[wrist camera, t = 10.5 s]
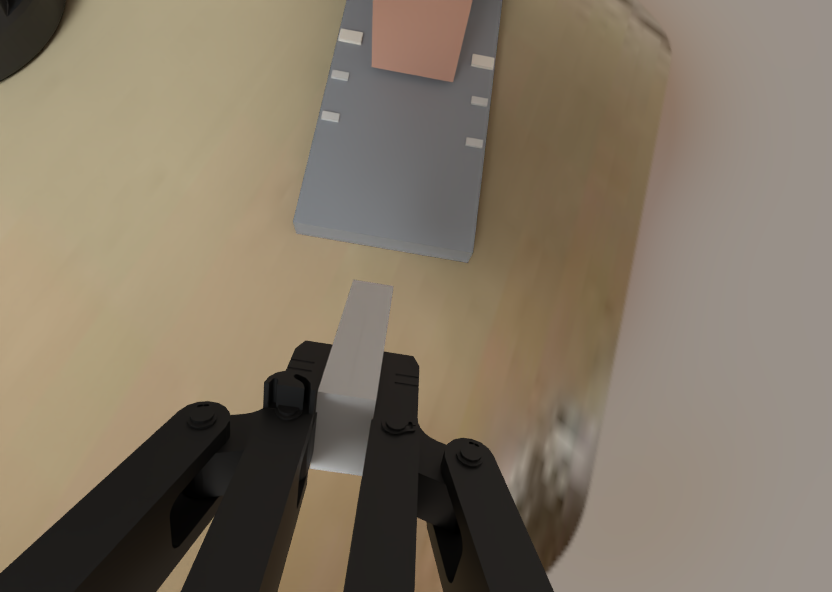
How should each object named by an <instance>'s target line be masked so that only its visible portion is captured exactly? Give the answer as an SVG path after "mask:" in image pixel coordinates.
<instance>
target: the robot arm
mask: <svg viewBox="0 0 832 592" xmlns="http://www.w3.org/2000/svg"><path fill="white" fill-rule="evenodd" d="M65 1H66V0H0V81H1V80H3V79H4V78H6V77H8V76H9V75H11V74H13V73H14V72H16V71H17V70H19V69H20V68H21V67H23V66H24V65H25V64H26V63H28V62H29V61H30V60H31V59H32V58H33V57H34V56H36V55H37V54H38V52H39V51H40V50H41V49H42V48H43V47H44V46H45V45H46V43H47V42H48V41H49V39H50V38H51V36H52V35H53V33H54V32H55V30H56V28H57V26H58V24H59V22H60V20H61V17H62V14H63V11H64V7H65ZM392 293H393V286H390V285H384V284H378V283H371V282H365V281H359V280H353V283H352V286H351V289H350V292H349V295H348V298H347V301H346V305H345V308H344V311H343V314H342V317H341V320H340V323H339V327H338V330H337V333H336V336H335V339H334V342H333V345H331V344H325V343H318V342H312V341H304V342H303V343H302V344H301V345H299V346H298V347H297V348H295V351H294V353H293V355H292V357H291V361H290V362H289V364H288V367H287V369H286V371H282V372H277V373H275V374H273V375H271V376H269V377H268V378H267V380H266V381H265V382H264V402H263V409H261V410H259V411H256V412H253V413H247V414H238V415H230V413H229V411H228V410H227V408H226V407H225V406H223V405H221V404H219V403H215V402H210V401H205V402H196V403H193V404H190V405H187V406H186V407H184V408H183V409H181V410H179V411H178V412H177V413H176V414H175V415H174V416H173V417H172V418H171V419H169V420H168V421H167V422H166V423H165V424H164V425H163V426H162V427H161V428H160V429H158V430H157V431H156V432H155V433H154V434H153V435H152V436H151V437H150V438H149V439H147V440H146V441H145V442H144V443H143V444H142V445H141V446H140V447H139V448H138V449H136V450H135V451H134V452H133V453H132V454H131V455H130V456H129V457H128V458H127V459H125V460H124V461H123V462H122V463H121V464H120V465H119V466H118V467H117V468H116V469H114V470H113V471H112V472H111V473H110V474H109V475H108V476H107V477H106V478H105V479H103V480H102V481H101V482H100V483H99V484H98V485H97V486H96V487H95V488H94V489H92V490H91V491H90V492H89V493H88V494H87V495H86V496H85V497H84V498H83V499H81V500H80V501H79V502H78V503H77V504H76V505H75V506H74V507H73V508H72V509H70V510H69V511H68V512H67V513H66V514H65V515H64V516H63V517H62V518H61V519H59V520H58V521H57V522H56V523H55V524H54V525H53V526H52V527H51V528H50V529H49V530H47V531H46V532H45V533H44V534H43V535H42V536H41V537H40V538H39V539H38V540H36V541H35V542H34V543H33V544H32V545H31V546H30V547H29V548H28V549H27V550H25V551H24V552H23V553H22V554H21V555H20V556H19V557H18V558H17V559H16V560H14V561H13V562H12V563H11V564H10V565H9V566H8V567H7V568H6V569H5V570H3V571H2V572H1V573H0V592H156V591H157V590H158V589H159V587H160V586H161V585H162V584H163V582H164V581H165V580H166V578H167V577H168V576H169V574H170V573H171V572H172V571H173V569H174V568H175V567H176V565H177V564H178V563H179V561H180V560H181V559H182V558H183V556H184V555H185V554H186V552H187V551H188V550H189V548H190V547H191V546H192V544H193V543H194V542H195V541H196V539H197V538H198V537H199V535H200V534H201V533H202V531H203V530H204V529H205V528H206V526H207V525H208V524H209V522H210V521H211V520H212V518H213V517H214V519H213V521H212V523H211V525H210V527H209V530H208V532H207V534H206V536H205V539H204V541H203V543H202V545H201V548H200V550H199V552H198V554H197V556H196V559H195V561H194V563H193V565H192V568H191V570H190V572H189V574H188V577H187V579H186V581H185V583H184V586H183V588H182V590H181V592H277V591H278V587H279V584H280V580H281V576H282V573H283V569H284V566H285V562H286V558H287V555H288V551H289V547H290V544H291V540H292V536H293V533H294V529H295V525H296V522H297V518H298V514H299V511H300V507H301V504H302V500H303V496H304V493H305V489H306V485H307V476H308V469H309V466H310V462H311V466H310V468H311V469H318V470H325V471H332V472H339V473H346V474H353V475H360V476H362V480H361V486H360V492H359V498H358V504H357V510H356V517H355V523H354V529H353V535H352V541H351V548H350V554H349V560H348V566H347V572H346V579H345V585H344V591H343V592H414V588H415V558H416V528H417V517H418V518H420V519H422V520H424V521H426V522H427V529H428V533H429V537H430V541H431V545H432V549H433V553H434V557H435V561H436V565H437V569H438V573H439V577H440V581H441V585H442V588H443V592H554V591H553V588H552V586H551V584H550V582H549V579H548V577H547V575H546V573H545V570H544V568H543V566H542V564H541V561H540V559H539V557H538V555H537V552H536V550H535V548H534V546H533V543H532V541H531V539H530V537H529V534H528V532H527V530H526V528H525V525H524V523H523V521H522V519H521V516H520V514H519V512H518V510H517V507H516V505H515V503H514V501H513V498H512V496H511V494H510V492H509V489H508V487H507V485H506V483H505V480H504V478H503V476H502V474H501V471H500V469H499V467H498V465H497V462H496V460H495V458H494V456H493V454H492V453H491V451H490V450H489V448H487V447H486V446H485V445H483V444H482V443H480V442H478V441H475V440H473V439H468V438H459V439H454V440H453V441H451V442H450V443H448V444H447V445H445V444H443V443H440V442H438V441H436V440H434V439H432V438H430V437H429V436H428V435H426V434H425V433H424V432H423V430H422V429H421V428H420V426H419V424H418V418H417V417H418V389H419V388H418V386H419V365H418V363H417V362H416V360H415V358H414V356H408V355H402V354H396V353H389V352H384V346H385V339H386V332H387V326H388V319H389V313H390V306H391V299H392Z"/></svg>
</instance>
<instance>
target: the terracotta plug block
mask: <svg viewBox="0 0 832 592" xmlns="http://www.w3.org/2000/svg"><path fill="white" fill-rule="evenodd" d="M472 1H473V0H373V16H372V67H374V68H379V69H385V70H390V71H395V72H401V73H406V74H411V75H417V76H422V77H427V78H432V79H438V80H443V81H448V82H453V80H454V76H455V72H456V68H457V64H458V59H459V55H460V51H461V47H462V43H463V38H464V34H465V30H466V26H467V22H468V18H469V13H470V9H471V5H472Z"/></svg>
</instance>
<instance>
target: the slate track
mask: <svg viewBox="0 0 832 592" xmlns="http://www.w3.org/2000/svg"><path fill="white" fill-rule="evenodd" d="M501 8H502V0H473V1H472V5H471V9H470V13H469V18H468V22H467V26H466V30H465V34H464V38H463V43H462V47H461V51H460V55H459V59H458V64H457V68H456V72H455V76H454V80H453V82H448V81H443V80H438V79H432V78H427V77H422V76H417V75H411V74H406V73H401V72H395V71H390V70H385V69H379V68H374V67H372V16H373V0H347V1H346V5H345V9H344V14H343V18H342V22H341V26H340V30H339V34H338V38H337V42H336V47H335V51H334V55H333V59H332V63H331V67H330V71H329V75H328V80H327V84H326V88H325V92H324V96H323V100H322V104H321V108H320V112H319V117H318V121H317V125H316V129H315V133H314V137H313V141H312V145H311V150H310V154H309V158H308V162H307V166H306V170H305V174H304V178H303V183H302V187H301V191H300V195H299V199H298V203H297V207H296V211H295V216H294V220H293V224H294V227H295V230H296V233H297V234H302V235H308V236H314V237H320V238H326V239H332V240H338V241H343V242H349V243H355V244H361V245H367V246H373V247H379V248H384V249H390V250H396V251H402V252H408V253H414V254H419V255H425V256H431V257H437V258H443V259H449V260H455V261H460V262H466V263H468V261H469V259H470V258H471V256H472V254H473V248H474V240H475V231H476V223H477V214H478V205H479V197H480V188H481V180H482V171H483V162H484V154H485V145H486V137H487V128H488V120H489V111H490V102H491V94H492V85H493V77H494V68H495V59H496V51H497V42H498V34H499V25H500V16H501Z"/></svg>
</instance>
